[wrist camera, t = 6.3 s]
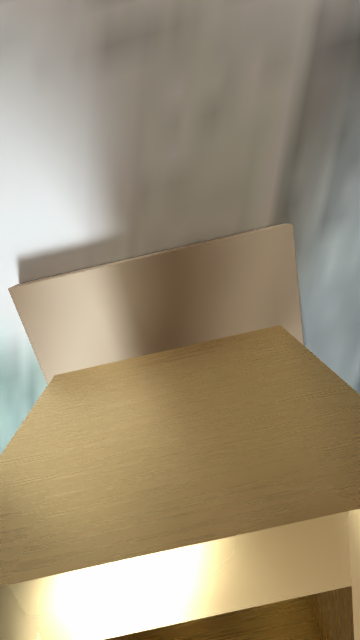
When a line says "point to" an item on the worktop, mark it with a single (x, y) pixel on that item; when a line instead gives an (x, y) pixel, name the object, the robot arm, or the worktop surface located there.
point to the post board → (162, 300)
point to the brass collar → (186, 499)
